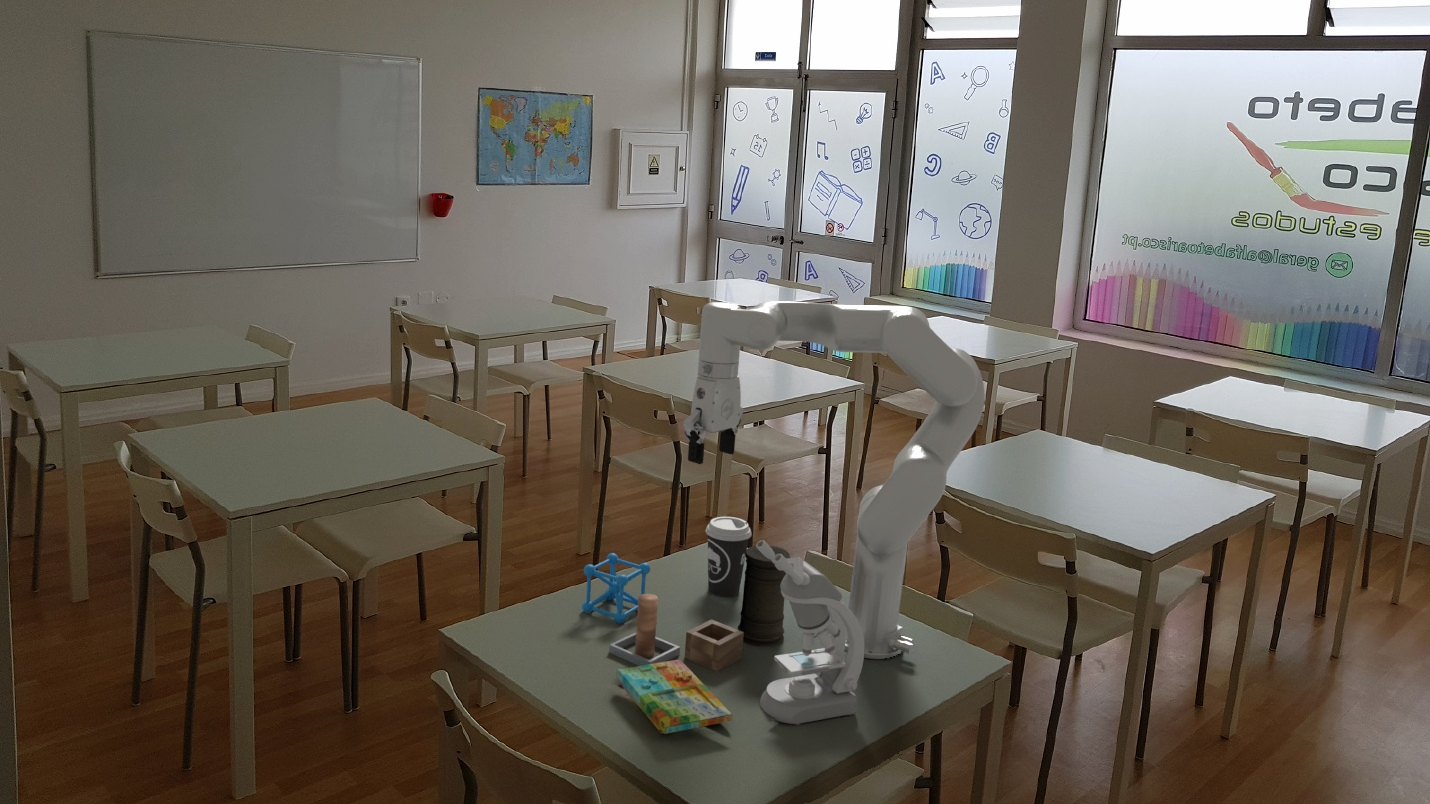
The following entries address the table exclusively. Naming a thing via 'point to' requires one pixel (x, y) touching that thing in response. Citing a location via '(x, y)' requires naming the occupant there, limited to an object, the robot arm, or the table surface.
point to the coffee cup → (726, 554)
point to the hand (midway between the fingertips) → (711, 457)
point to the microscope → (833, 676)
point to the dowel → (646, 625)
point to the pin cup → (714, 645)
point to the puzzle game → (672, 696)
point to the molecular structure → (614, 586)
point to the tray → (618, 650)
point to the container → (762, 600)
